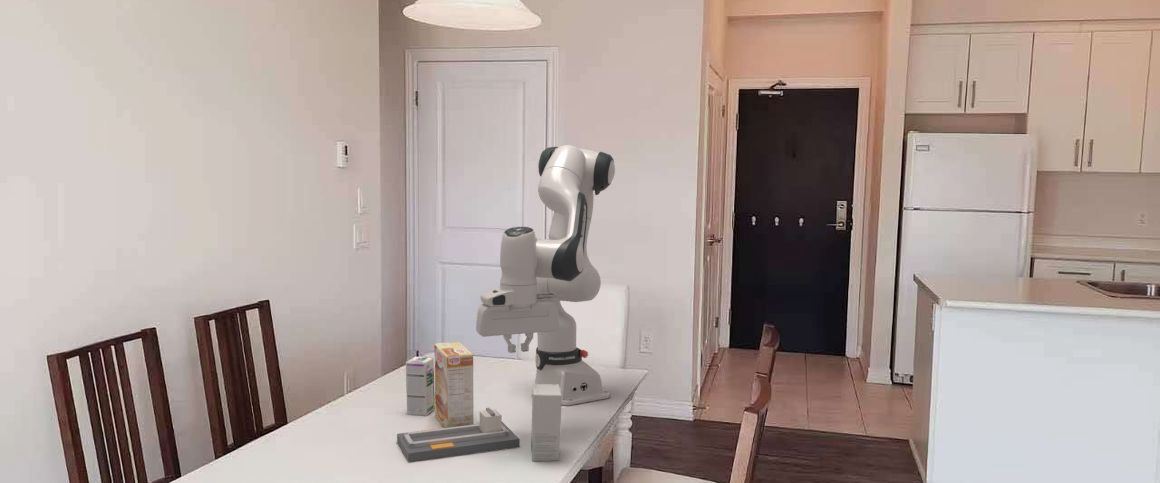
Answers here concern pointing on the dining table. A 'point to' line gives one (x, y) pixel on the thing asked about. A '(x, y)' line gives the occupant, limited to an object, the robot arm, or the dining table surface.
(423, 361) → the syrup box
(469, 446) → the board
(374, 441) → the dining table surface
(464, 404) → the coffeecake box
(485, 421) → the fader tab
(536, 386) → the skincare box
